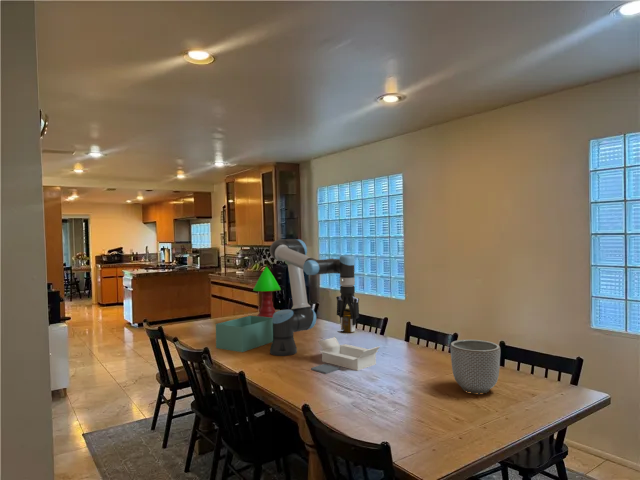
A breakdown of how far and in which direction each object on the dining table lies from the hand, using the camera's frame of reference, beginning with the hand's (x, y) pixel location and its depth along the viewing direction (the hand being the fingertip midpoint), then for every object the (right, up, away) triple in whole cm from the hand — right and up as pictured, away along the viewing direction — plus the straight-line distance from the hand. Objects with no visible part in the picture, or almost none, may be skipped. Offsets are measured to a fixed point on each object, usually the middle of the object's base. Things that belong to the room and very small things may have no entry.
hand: (347, 330), depth 228 cm
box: (-59, -18, +44) cm, 76 cm away
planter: (+51, -16, -43) cm, 68 cm away
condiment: (0, -1, 0) cm, 1 cm away
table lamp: (-51, -17, +86) cm, 101 cm away
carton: (0, -17, 0) cm, 17 cm away
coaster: (-12, -17, -11) cm, 23 cm away
